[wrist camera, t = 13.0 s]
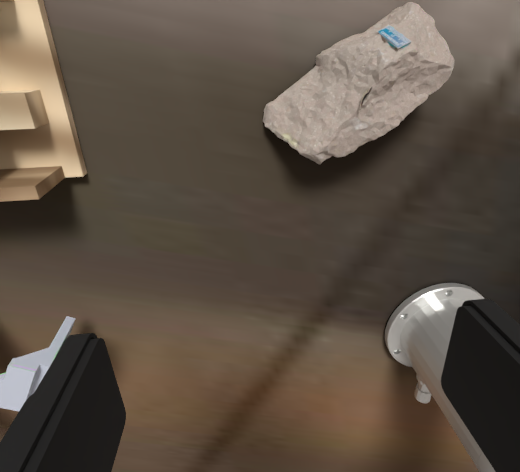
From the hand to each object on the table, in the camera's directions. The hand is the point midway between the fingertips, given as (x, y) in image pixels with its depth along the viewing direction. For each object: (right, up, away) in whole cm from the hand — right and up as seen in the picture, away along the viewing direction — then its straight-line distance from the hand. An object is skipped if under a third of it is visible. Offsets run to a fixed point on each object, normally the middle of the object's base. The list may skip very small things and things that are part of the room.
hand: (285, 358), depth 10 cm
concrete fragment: (+6, +16, +21) cm, 27 cm away
